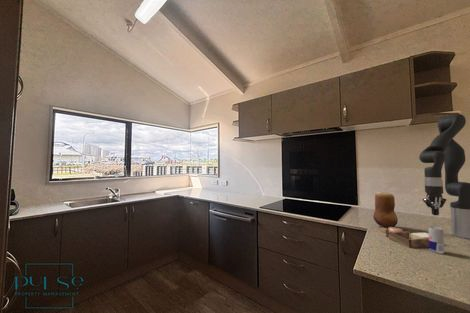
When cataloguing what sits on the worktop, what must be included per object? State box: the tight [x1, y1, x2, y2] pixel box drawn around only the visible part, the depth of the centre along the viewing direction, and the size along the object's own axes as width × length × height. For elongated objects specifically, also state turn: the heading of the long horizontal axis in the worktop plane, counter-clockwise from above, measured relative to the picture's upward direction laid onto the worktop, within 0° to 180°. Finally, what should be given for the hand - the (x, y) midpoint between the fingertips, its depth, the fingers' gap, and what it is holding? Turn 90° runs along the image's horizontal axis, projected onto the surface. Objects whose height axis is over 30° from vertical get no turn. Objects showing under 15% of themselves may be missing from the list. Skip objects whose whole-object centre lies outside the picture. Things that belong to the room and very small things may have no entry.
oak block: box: [378, 227, 389, 237], centre depth 123 cm, size 4×4×4 cm
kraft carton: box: [410, 232, 429, 239], centre depth 111 cm, size 9×7×4 cm
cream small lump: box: [388, 226, 404, 232], centre depth 122 cm, size 7×7×4 cm
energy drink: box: [427, 225, 445, 255], centre depth 99 cm, size 5×5×12 cm
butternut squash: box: [372, 191, 399, 229], centre depth 137 cm, size 14×13×25 cm
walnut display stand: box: [388, 231, 429, 249], centre depth 110 cm, size 12×12×4 cm
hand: (435, 214), depth 112 cm, fingers closed
